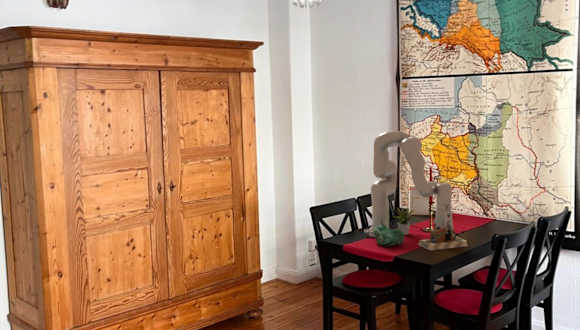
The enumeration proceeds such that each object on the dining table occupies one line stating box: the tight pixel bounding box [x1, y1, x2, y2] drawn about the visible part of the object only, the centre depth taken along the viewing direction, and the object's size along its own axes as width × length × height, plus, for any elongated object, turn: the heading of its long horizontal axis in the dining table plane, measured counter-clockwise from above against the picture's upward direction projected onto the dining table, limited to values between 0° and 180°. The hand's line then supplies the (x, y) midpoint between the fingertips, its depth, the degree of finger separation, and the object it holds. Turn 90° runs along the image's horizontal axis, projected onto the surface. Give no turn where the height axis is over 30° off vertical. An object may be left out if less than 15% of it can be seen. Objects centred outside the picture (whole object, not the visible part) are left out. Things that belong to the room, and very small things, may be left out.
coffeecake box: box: [408, 183, 434, 216], centre depth 391 cm, size 15×7×20 cm, turn 84°
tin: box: [429, 228, 457, 244], centre depth 316 cm, size 15×3×8 cm, turn 108°
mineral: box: [373, 224, 405, 247], centre depth 319 cm, size 18×16×10 cm
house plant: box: [394, 205, 416, 236], centre depth 340 cm, size 14×14×16 cm
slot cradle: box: [417, 236, 469, 251], centre depth 316 cm, size 23×12×3 cm, turn 109°
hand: (443, 238), depth 316 cm, fingers open, 8 cm apart
